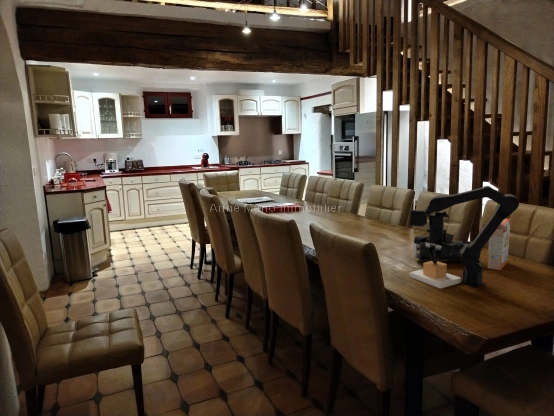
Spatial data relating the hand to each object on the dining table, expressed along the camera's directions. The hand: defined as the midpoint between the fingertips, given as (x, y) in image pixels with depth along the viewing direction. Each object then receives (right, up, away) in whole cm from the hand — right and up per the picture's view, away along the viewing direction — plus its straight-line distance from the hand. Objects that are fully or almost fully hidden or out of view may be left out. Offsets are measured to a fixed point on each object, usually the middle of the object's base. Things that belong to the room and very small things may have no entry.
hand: (435, 263), depth 161 cm
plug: (0, -7, +1) cm, 7 cm away
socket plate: (0, -7, +1) cm, 7 cm away
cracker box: (+35, -3, +15) cm, 38 cm away
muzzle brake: (+15, -3, +24) cm, 28 cm away
